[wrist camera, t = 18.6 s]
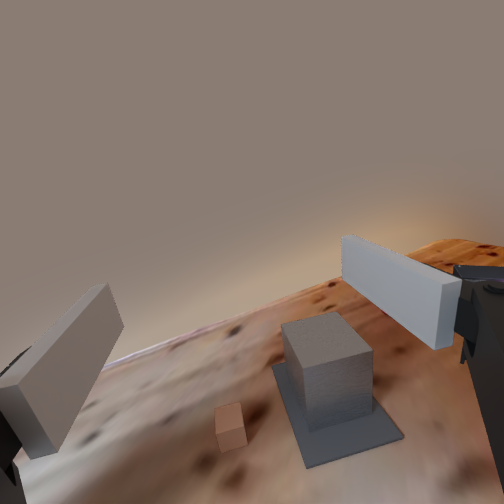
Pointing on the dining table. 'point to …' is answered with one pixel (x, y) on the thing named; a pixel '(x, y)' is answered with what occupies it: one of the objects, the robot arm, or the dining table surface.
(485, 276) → the small box
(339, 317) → the steel cover
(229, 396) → the dining table surface
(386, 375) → the dining table surface
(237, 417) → the terracotta cube
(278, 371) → the charcoal mat
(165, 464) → the dining table surface
